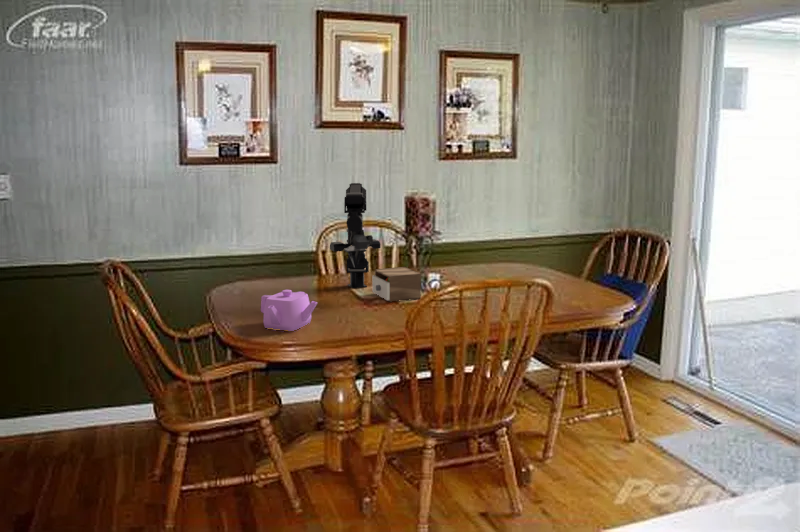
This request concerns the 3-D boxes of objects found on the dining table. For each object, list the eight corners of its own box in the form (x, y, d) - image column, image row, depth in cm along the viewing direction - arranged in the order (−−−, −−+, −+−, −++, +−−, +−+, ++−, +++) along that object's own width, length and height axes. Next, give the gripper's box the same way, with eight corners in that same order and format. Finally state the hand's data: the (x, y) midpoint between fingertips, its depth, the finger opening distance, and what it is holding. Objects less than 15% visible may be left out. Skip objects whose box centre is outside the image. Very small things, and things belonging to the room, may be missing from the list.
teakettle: (304, 317, 254) (303, 282, 252) (319, 329, 239) (318, 293, 237) (256, 322, 248) (255, 287, 245) (269, 335, 232) (268, 298, 230)
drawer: (369, 292, 287) (369, 275, 286) (401, 289, 293) (401, 272, 291) (384, 300, 274) (384, 283, 272) (417, 297, 279) (417, 280, 278)
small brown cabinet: (375, 293, 288) (374, 269, 286) (404, 290, 293) (404, 266, 291) (389, 302, 275) (389, 276, 273) (420, 298, 280) (420, 273, 278)
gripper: (338, 231, 261) (339, 273, 264) (386, 228, 268) (386, 269, 271) (328, 227, 271) (329, 268, 274) (374, 224, 278) (375, 264, 281)
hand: (355, 267), depth 275 cm, fingers closed
